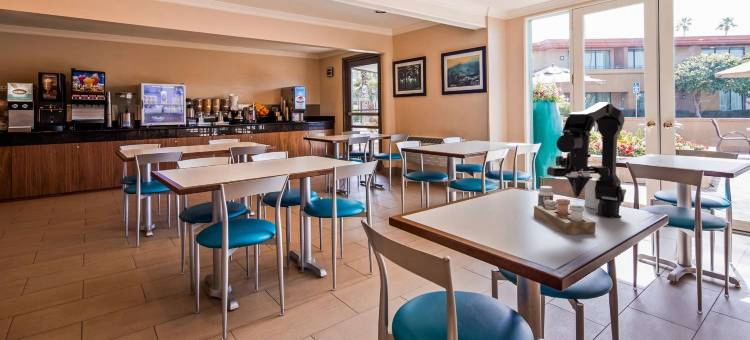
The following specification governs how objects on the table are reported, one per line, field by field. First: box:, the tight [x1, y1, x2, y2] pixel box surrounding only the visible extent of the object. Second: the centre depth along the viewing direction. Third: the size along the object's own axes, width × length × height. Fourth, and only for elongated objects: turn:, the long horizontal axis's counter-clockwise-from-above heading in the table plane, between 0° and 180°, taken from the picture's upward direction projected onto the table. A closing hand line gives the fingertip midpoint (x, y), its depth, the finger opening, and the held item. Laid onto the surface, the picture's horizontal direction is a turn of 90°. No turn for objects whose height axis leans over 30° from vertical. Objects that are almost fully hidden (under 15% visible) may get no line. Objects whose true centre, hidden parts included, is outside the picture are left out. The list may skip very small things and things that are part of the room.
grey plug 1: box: [544, 199, 557, 209], centre depth 160 cm, size 5×5×6 cm
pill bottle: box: [537, 185, 554, 206], centre depth 170 cm, size 6×6×10 cm
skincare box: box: [584, 177, 599, 210], centre depth 174 cm, size 6×4×12 cm
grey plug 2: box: [568, 204, 586, 222], centre depth 141 cm, size 5×5×6 cm
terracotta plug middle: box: [555, 198, 571, 215], centre depth 150 cm, size 5×5×6 cm
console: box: [533, 205, 597, 235], centre depth 151 cm, size 10×25×4 cm, turn 3°
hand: (576, 196), depth 140 cm, fingers closed
